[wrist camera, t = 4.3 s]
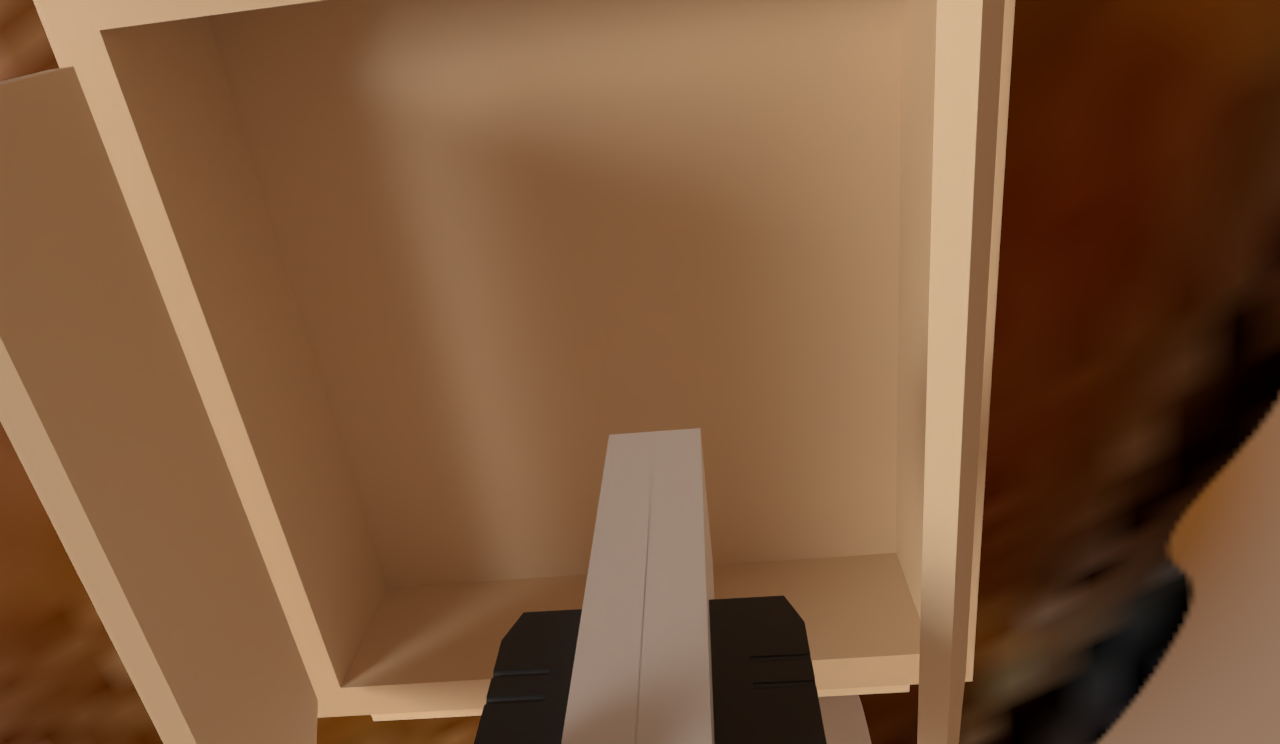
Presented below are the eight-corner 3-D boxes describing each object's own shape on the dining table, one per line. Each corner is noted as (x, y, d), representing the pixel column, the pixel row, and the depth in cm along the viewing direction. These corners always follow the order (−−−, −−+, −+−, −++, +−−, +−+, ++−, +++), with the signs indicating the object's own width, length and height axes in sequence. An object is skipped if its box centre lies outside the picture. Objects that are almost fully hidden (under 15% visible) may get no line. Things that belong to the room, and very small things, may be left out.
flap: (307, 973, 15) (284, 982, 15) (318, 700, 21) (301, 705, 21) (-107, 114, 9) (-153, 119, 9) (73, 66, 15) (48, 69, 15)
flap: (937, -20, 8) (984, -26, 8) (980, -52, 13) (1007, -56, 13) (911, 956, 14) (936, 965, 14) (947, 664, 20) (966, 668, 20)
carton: (156, -46, 19) (14, -46, 15) (951, -159, 17) (1034, -193, 13) (372, 611, 27) (317, 727, 23) (929, 574, 26) (975, 691, 21)
